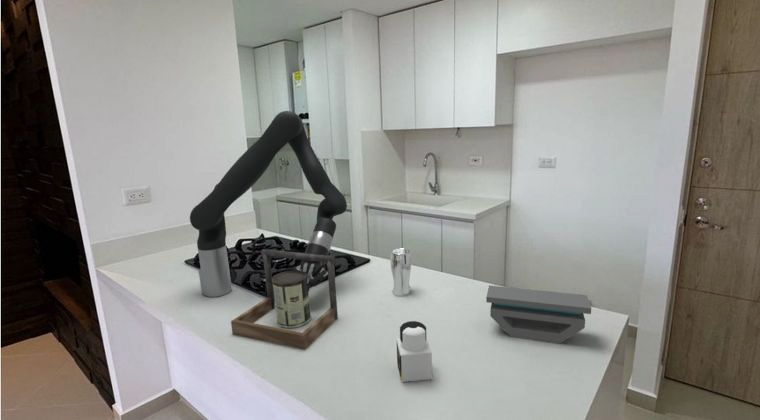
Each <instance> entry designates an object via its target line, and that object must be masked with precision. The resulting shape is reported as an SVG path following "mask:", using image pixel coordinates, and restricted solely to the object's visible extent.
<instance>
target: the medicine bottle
mask: <svg viewBox="0 0 760 420" xmlns="http://www.w3.org/2000/svg"><path fill="white" fill-rule="evenodd" d="M399 333H400V334H399V337H397V338H396V364H397V367H398V368H397V369H398V373H399V378H400V382H401V381H402V382H401V383H408V381H410V382H419V381H420V380H421V381H428V380H429V381H431V380H432V379H433V367H432V366H433V363H432V362H433V361H432V360H433V359H432V358H433V356H432V355H433V354H432V353H433V352H432V350H431V347H430V345H429V342H428V339H427V326H426V325H425V324H424V323H422V322H420V321H416V320H415V321H414V320H413V321H412V320H411V321H409V320H408V321H406V322H403V323H402V324H401V325H400V326H399ZM430 379H431V380H430ZM406 381H407V382H406Z"/></svg>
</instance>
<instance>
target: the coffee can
mask: <svg viewBox="0 0 760 420" xmlns="http://www.w3.org/2000/svg"><path fill="white" fill-rule="evenodd" d="M272 283H273V292H274V302H275V313H276V324H277V326H279V327H280V328H283V329H294V328H299V327H303V326H305V325H306V324H308V323H309V322H310V321H311V319H312V315H311V304H310V296H309V294H310V293H309V292H308V283H307V273H306V272H304V271H302V270H301V271H298V270H293V269H292V270H286V271H283V272H278V273H276V274H275V275H273V276H272Z"/></svg>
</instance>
